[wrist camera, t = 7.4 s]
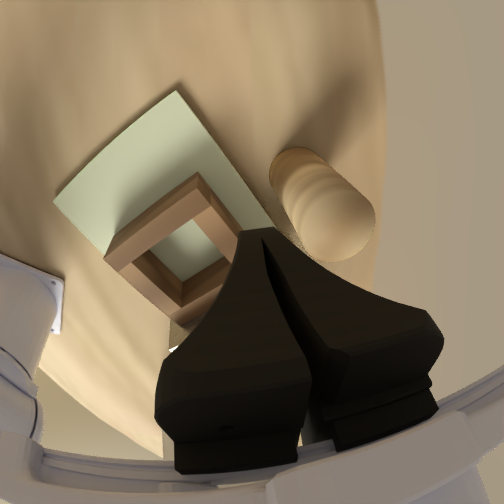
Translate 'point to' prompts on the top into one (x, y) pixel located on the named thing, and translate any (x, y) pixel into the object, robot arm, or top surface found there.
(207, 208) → the brown wooden square frame
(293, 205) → the dowel
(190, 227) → the board
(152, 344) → the top surface
